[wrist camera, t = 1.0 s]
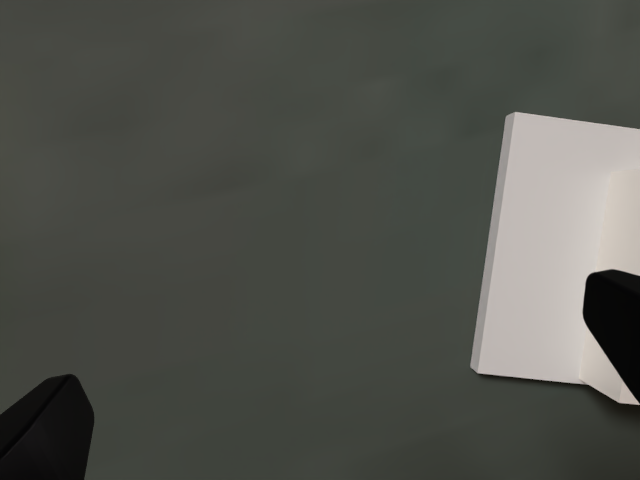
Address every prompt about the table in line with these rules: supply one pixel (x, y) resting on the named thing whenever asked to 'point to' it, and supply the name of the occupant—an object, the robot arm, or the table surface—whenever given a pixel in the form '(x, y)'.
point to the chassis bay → (556, 248)
